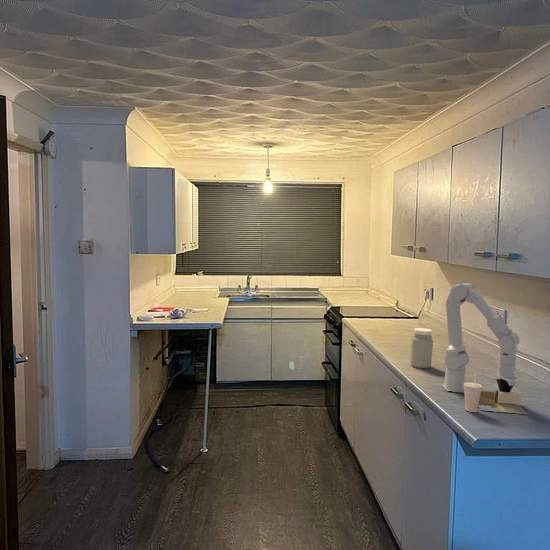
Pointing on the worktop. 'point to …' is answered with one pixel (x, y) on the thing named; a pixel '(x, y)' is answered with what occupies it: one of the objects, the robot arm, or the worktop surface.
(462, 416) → the worktop surface
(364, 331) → the worktop surface
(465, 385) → the smoothie
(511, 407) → the mat
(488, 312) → the robot arm
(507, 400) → the fence panel
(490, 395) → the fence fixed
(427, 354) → the jar
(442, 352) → the worktop surface
